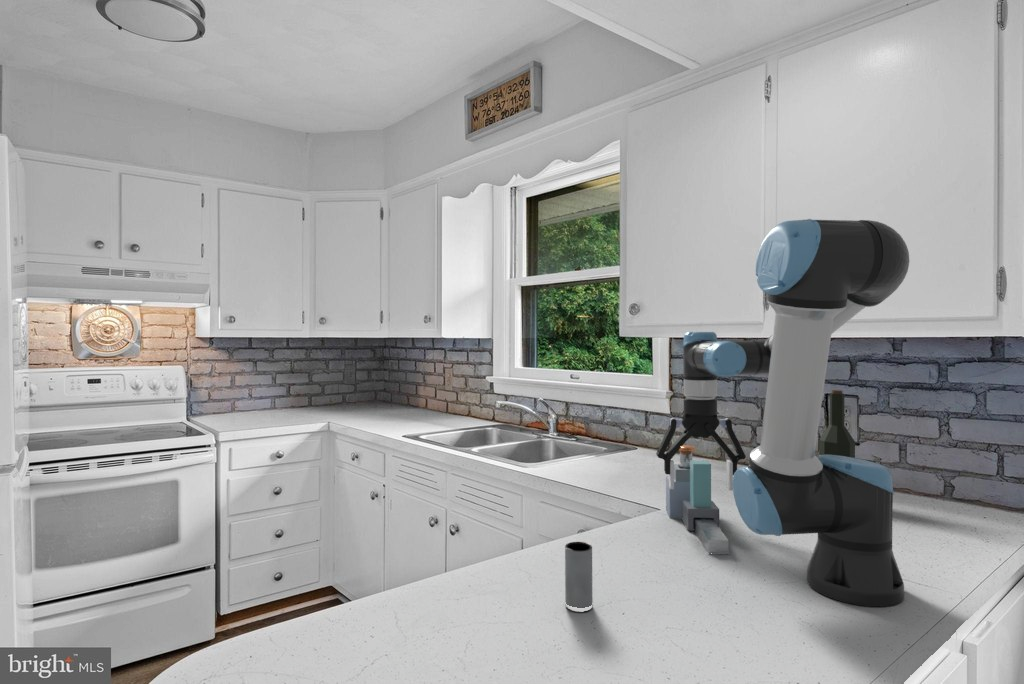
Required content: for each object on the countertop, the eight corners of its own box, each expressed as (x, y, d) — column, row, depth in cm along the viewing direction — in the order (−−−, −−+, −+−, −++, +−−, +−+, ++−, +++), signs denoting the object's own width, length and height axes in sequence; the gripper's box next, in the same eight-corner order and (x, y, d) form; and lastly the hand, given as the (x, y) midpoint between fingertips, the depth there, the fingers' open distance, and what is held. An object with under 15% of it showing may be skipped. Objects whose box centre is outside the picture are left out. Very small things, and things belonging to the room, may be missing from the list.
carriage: (719, 531, 139) (719, 465, 139) (688, 530, 140) (687, 465, 140) (712, 521, 146) (712, 459, 146) (682, 520, 147) (682, 458, 147)
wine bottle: (818, 505, 160) (819, 391, 159) (819, 497, 167) (819, 388, 167) (855, 509, 156) (855, 392, 155) (854, 501, 163) (854, 389, 163)
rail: (728, 554, 126) (728, 540, 125) (708, 554, 126) (708, 539, 126) (704, 519, 148) (704, 507, 148) (687, 519, 149) (687, 507, 149)
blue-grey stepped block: (707, 518, 149) (707, 470, 149) (669, 518, 150) (669, 469, 150) (702, 511, 155) (701, 464, 155) (666, 510, 156) (665, 464, 156)
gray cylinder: (575, 598, 106) (574, 539, 106) (597, 605, 103) (597, 545, 103) (560, 607, 102) (559, 547, 102) (583, 615, 99) (582, 553, 99)
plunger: (696, 480, 150) (696, 448, 150) (678, 479, 151) (678, 448, 150) (693, 475, 155) (693, 445, 154) (675, 475, 155) (675, 444, 155)
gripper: (750, 395, 145) (750, 485, 145) (644, 395, 147) (644, 483, 148) (759, 399, 138) (759, 493, 138) (648, 399, 140) (648, 491, 140)
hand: (700, 488), depth 143 cm, fingers open, 13 cm apart
